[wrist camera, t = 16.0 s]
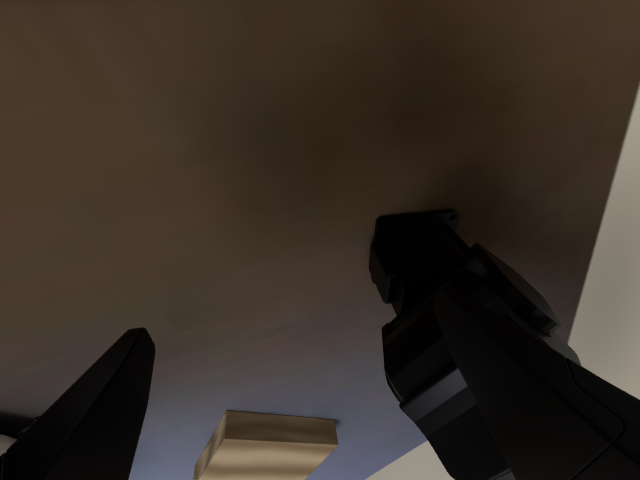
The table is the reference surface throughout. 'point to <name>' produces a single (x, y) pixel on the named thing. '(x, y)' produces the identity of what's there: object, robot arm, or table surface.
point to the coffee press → (12, 437)
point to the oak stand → (265, 447)
